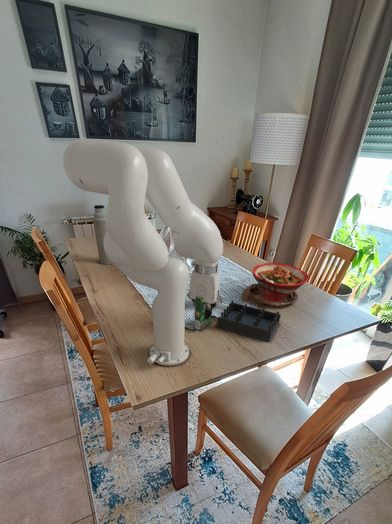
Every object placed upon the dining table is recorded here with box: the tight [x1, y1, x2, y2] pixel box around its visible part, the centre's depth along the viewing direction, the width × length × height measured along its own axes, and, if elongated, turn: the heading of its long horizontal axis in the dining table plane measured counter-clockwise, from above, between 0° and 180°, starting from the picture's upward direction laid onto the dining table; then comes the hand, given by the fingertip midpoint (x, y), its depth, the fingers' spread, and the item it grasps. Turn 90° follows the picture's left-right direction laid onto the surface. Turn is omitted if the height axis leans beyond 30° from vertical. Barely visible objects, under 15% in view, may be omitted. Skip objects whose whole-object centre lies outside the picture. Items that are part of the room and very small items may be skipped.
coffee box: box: [194, 296, 212, 332], centre depth 104 cm, size 8×3×13 cm, turn 147°
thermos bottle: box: [92, 204, 113, 265], centre depth 149 cm, size 8×8×28 cm
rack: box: [216, 299, 282, 343], centre depth 108 cm, size 20×14×6 cm
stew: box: [240, 262, 309, 309], centre depth 124 cm, size 28×24×16 cm
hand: (203, 315), depth 106 cm, fingers closed on coffee box, 3 cm apart
